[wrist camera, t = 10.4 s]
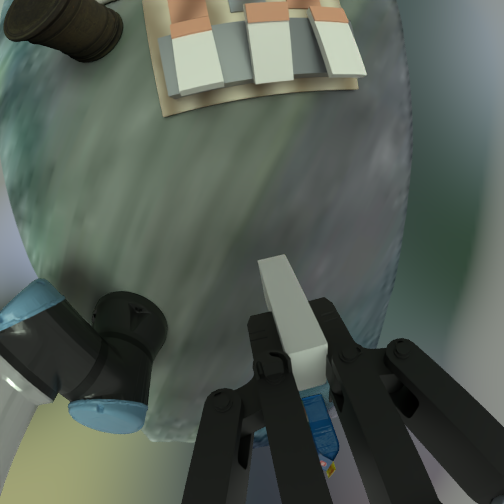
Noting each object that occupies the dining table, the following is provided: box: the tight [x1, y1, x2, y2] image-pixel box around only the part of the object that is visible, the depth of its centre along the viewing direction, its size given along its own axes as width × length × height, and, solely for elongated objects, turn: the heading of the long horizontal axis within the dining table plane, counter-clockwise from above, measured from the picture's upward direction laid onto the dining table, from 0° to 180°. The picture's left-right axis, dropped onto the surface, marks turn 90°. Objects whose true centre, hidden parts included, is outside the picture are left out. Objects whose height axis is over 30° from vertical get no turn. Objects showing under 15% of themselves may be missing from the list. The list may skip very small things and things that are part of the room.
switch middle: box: [243, 2, 294, 84], centre depth 23 cm, size 4×10×2 cm, turn 10°
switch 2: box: [306, 6, 367, 78], centre depth 23 cm, size 4×10×2 cm, turn 10°
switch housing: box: [157, 18, 355, 99], centre depth 27 cm, size 24×8×5 cm, turn 100°
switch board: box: [142, 0, 358, 117], centre depth 27 cm, size 28×20×2 cm
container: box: [4, 0, 123, 62], centre depth 16 cm, size 9×9×18 cm
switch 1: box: [170, 16, 224, 96], centre depth 22 cm, size 4×10×2 cm, turn 10°
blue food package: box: [302, 394, 339, 478], centre depth 61 cm, size 6×12×25 cm, turn 5°
